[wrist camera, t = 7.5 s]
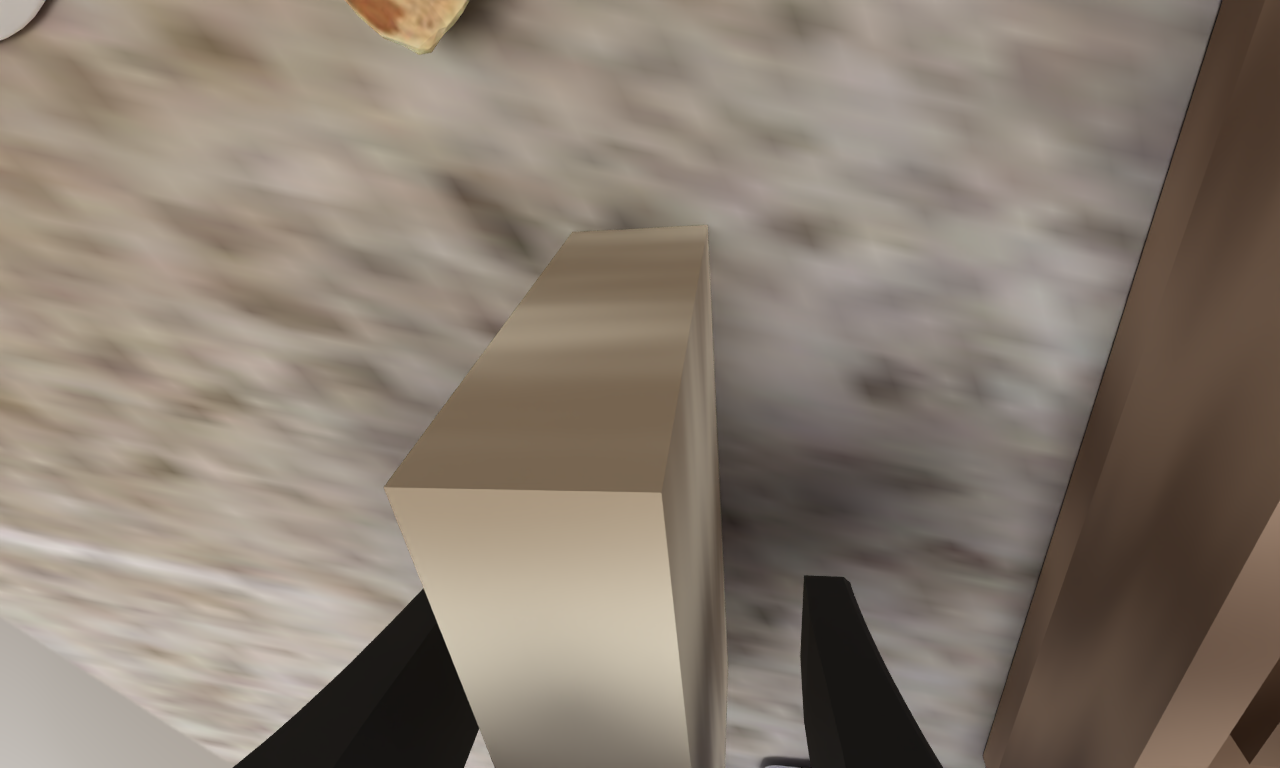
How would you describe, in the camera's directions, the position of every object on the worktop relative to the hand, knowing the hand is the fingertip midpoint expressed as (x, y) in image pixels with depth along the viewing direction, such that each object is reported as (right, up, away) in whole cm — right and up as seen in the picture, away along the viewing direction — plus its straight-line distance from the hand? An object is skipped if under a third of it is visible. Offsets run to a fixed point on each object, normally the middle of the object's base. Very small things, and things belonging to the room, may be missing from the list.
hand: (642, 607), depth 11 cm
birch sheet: (+1, +1, +3) cm, 4 cm away
